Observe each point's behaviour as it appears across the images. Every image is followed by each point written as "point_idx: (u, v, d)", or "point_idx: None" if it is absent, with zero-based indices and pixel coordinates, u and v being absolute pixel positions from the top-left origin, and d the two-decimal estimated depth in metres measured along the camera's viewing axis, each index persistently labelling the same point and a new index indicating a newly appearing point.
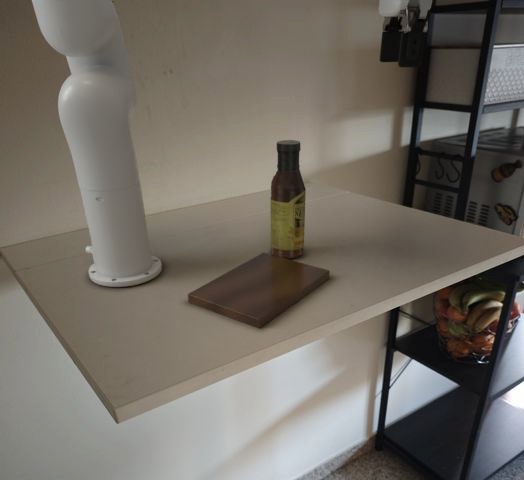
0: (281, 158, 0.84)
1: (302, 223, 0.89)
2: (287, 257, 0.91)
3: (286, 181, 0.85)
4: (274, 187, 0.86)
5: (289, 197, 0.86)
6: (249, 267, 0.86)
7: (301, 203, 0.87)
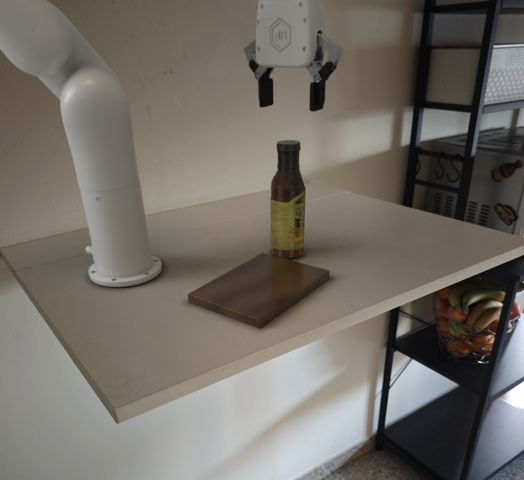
0: (281, 158, 0.84)
1: (302, 223, 0.89)
2: (287, 257, 0.91)
3: (286, 181, 0.85)
4: (274, 187, 0.86)
5: (289, 197, 0.86)
6: (249, 267, 0.86)
7: (301, 203, 0.87)
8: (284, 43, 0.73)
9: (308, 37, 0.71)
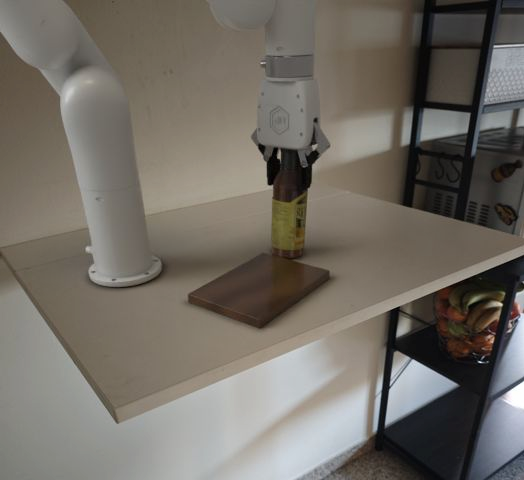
0: (284, 158, 0.84)
1: (303, 223, 0.89)
2: (287, 257, 0.91)
3: (288, 181, 0.85)
4: (277, 187, 0.86)
5: (291, 197, 0.86)
6: (249, 267, 0.86)
7: (302, 203, 0.87)
8: (283, 127, 0.80)
9: (305, 124, 0.77)
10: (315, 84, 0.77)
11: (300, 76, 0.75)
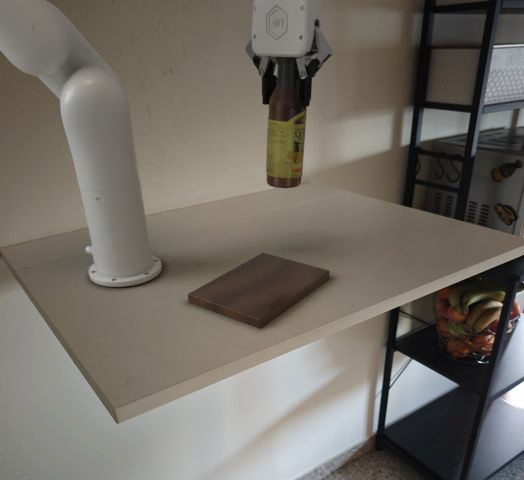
0: (282, 70, 0.76)
1: (301, 148, 0.82)
2: (283, 186, 0.84)
3: (285, 96, 0.77)
4: (273, 104, 0.78)
5: (288, 116, 0.78)
6: (249, 267, 0.86)
7: (301, 123, 0.79)
8: (281, 31, 0.72)
9: (305, 25, 0.70)
10: None
11: None
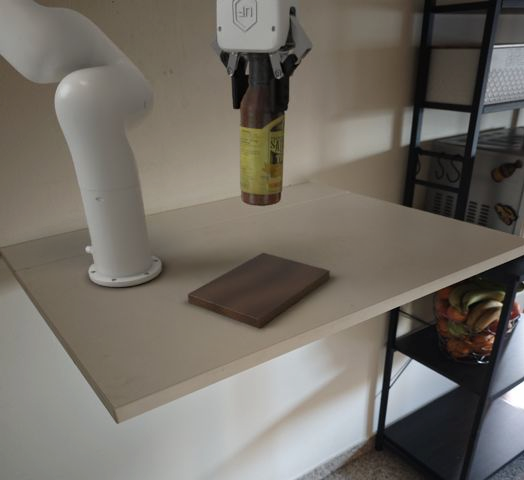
0: (253, 68, 0.64)
1: (280, 159, 0.70)
2: (260, 204, 0.72)
3: (259, 99, 0.65)
4: (244, 109, 0.66)
5: (262, 122, 0.66)
6: (249, 267, 0.86)
7: (278, 131, 0.67)
8: (250, 21, 0.60)
9: (278, 14, 0.58)
10: None
11: None
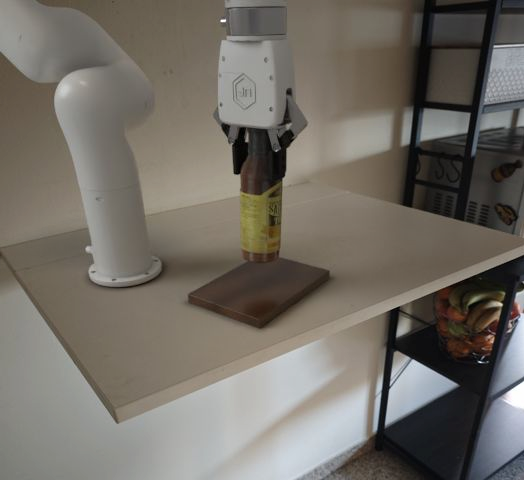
0: (252, 140, 0.68)
1: (278, 221, 0.74)
2: (259, 261, 0.76)
3: (258, 168, 0.69)
4: (244, 176, 0.70)
5: (261, 189, 0.70)
6: (249, 267, 0.86)
7: (276, 196, 0.71)
8: (249, 101, 0.64)
9: (275, 96, 0.62)
10: (288, 45, 0.61)
11: (268, 34, 0.59)
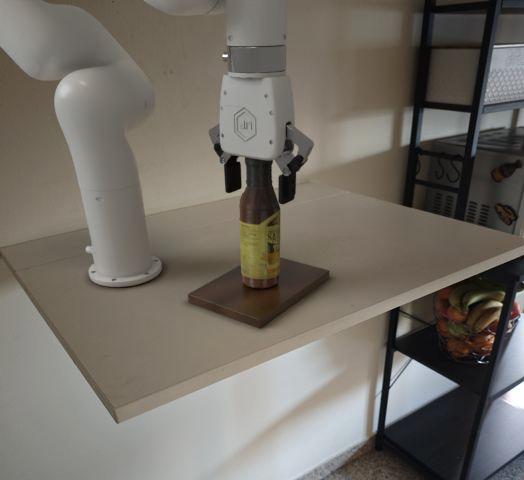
0: (250, 173, 0.71)
1: (277, 248, 0.76)
2: (260, 287, 0.78)
3: (256, 199, 0.71)
4: (243, 207, 0.73)
5: (260, 219, 0.72)
6: None
7: (274, 225, 0.74)
8: (250, 133, 0.66)
9: (275, 130, 0.64)
10: (288, 81, 0.63)
11: (268, 71, 0.61)
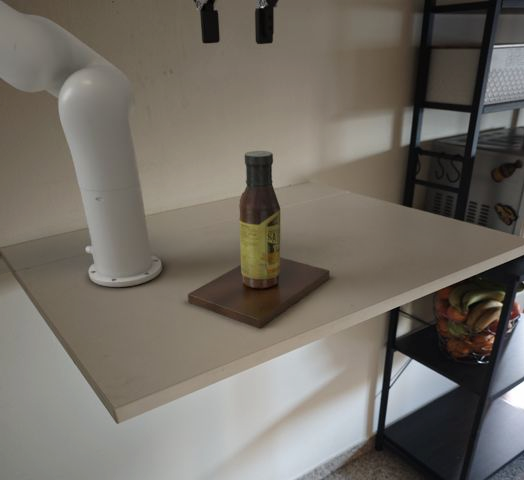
0: (250, 173, 0.71)
1: (277, 248, 0.76)
2: (260, 287, 0.78)
3: (256, 199, 0.71)
4: (243, 207, 0.73)
5: (260, 219, 0.72)
6: None
7: (274, 225, 0.74)
8: None
9: None
10: None
11: None
